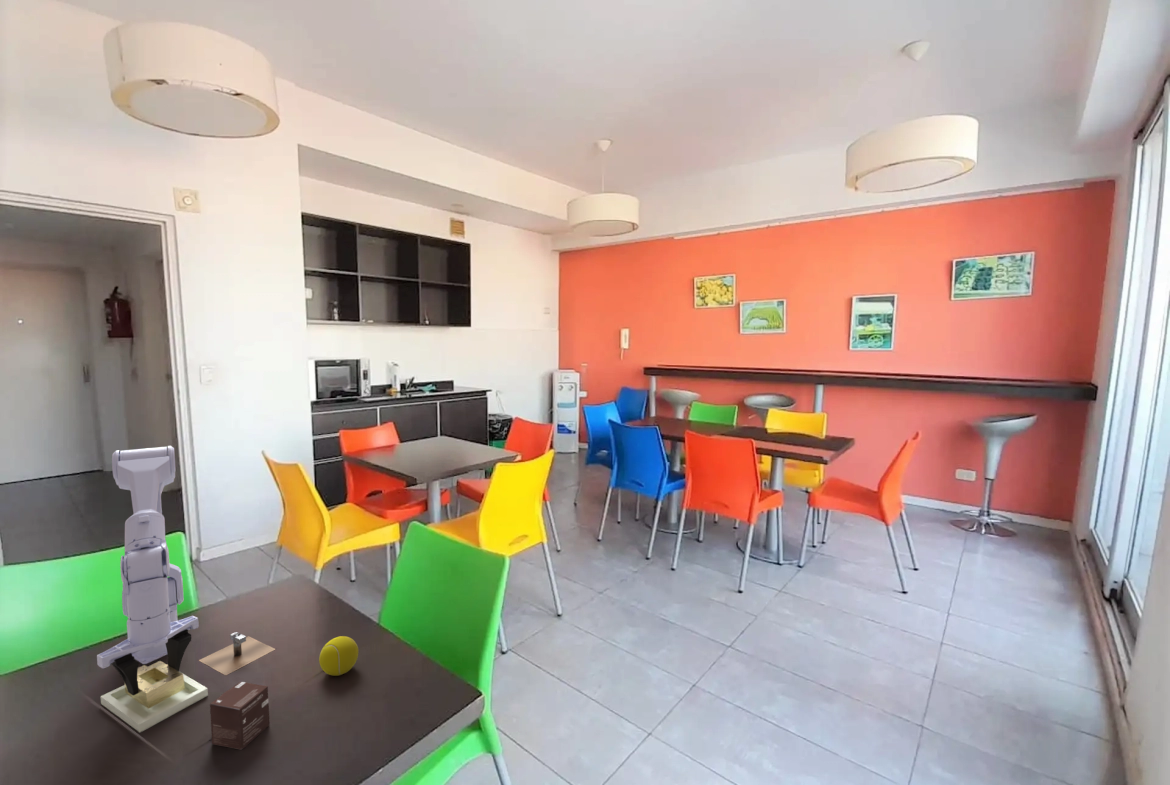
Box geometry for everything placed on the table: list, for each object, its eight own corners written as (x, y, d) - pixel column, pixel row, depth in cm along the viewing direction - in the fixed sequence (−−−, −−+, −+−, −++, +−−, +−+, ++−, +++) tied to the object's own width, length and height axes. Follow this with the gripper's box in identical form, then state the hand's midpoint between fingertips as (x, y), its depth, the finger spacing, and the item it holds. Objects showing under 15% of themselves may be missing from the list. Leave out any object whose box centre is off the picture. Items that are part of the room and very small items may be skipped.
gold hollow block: (148, 708, 90) (146, 693, 90) (122, 691, 95) (120, 676, 94) (184, 688, 95) (183, 674, 95) (158, 673, 100) (157, 658, 99)
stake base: (198, 662, 106) (198, 660, 106) (248, 637, 115) (248, 636, 115) (225, 677, 102) (225, 675, 102) (275, 650, 111) (275, 649, 111)
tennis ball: (339, 658, 109) (338, 626, 108) (365, 665, 106) (365, 633, 106) (312, 678, 102) (311, 645, 101) (339, 686, 100) (338, 653, 99)
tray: (101, 705, 93) (100, 696, 93) (168, 673, 103) (167, 664, 102) (140, 734, 87) (139, 724, 87) (207, 697, 96) (207, 688, 96)
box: (241, 751, 84) (238, 710, 83) (210, 745, 85) (208, 704, 84) (270, 724, 90) (269, 685, 89) (241, 718, 91) (239, 680, 90)
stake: (230, 654, 108) (229, 634, 108) (237, 650, 110) (236, 631, 109) (240, 659, 107) (239, 639, 106) (247, 655, 108) (246, 636, 108)
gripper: (108, 638, 85) (114, 715, 86) (205, 600, 98) (209, 667, 99) (89, 627, 88) (95, 700, 89) (185, 591, 101) (190, 656, 102)
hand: (154, 682), depth 94 cm, fingers closed on gold hollow block, 6 cm apart
